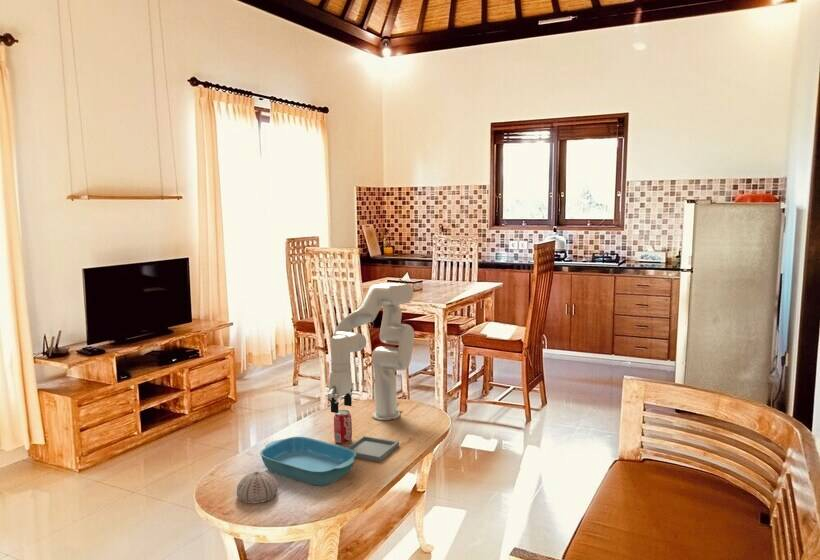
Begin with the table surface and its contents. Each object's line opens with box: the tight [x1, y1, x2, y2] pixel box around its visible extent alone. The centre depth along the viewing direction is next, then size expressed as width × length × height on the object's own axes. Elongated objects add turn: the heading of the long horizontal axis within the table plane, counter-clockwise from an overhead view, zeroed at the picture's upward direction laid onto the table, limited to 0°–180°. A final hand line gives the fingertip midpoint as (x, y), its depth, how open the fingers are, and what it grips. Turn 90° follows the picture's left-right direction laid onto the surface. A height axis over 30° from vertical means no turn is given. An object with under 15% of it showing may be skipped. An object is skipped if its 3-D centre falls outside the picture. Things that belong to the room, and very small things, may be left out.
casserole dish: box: [259, 436, 357, 487], centre depth 212 cm, size 37×22×7 cm, turn 58°
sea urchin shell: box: [235, 470, 279, 503], centre depth 193 cm, size 13×14×8 cm
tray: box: [345, 435, 400, 463], centre depth 229 cm, size 16×16×2 cm
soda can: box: [333, 409, 353, 445], centre depth 238 cm, size 7×7×12 cm
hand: (341, 409), depth 237 cm, fingers open, 9 cm apart
